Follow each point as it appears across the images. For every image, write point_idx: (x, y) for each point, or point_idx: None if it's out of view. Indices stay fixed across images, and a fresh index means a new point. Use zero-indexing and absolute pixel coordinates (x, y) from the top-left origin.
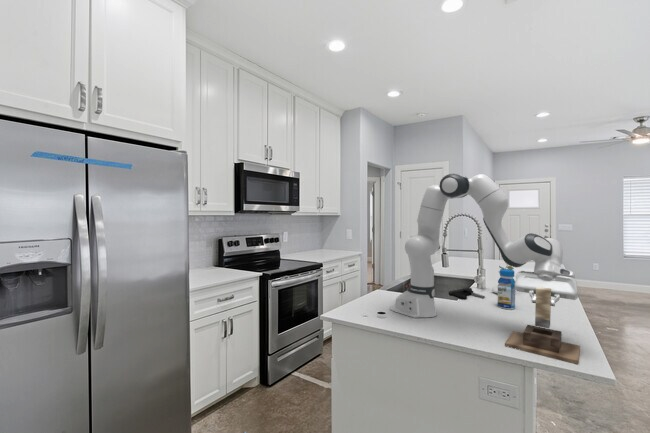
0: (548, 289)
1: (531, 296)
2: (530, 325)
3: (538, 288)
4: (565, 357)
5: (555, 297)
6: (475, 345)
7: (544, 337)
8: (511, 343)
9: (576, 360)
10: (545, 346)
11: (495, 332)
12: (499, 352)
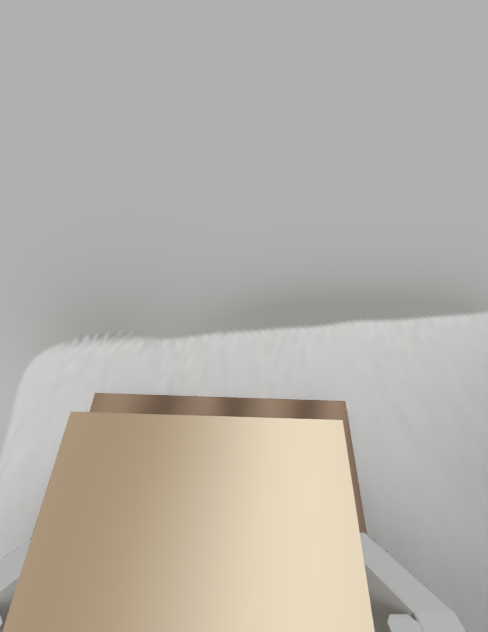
0: (81, 550)
1: (369, 545)
2: None
3: (308, 489)
4: (134, 397)
5: (13, 577)
6: (410, 343)
7: None
8: (324, 412)
9: (100, 393)
10: None
11: (448, 586)
12: (332, 334)
